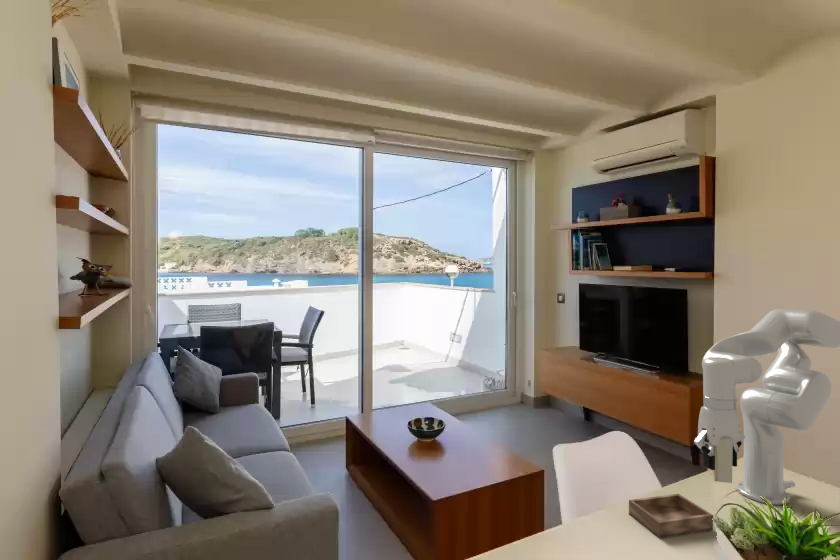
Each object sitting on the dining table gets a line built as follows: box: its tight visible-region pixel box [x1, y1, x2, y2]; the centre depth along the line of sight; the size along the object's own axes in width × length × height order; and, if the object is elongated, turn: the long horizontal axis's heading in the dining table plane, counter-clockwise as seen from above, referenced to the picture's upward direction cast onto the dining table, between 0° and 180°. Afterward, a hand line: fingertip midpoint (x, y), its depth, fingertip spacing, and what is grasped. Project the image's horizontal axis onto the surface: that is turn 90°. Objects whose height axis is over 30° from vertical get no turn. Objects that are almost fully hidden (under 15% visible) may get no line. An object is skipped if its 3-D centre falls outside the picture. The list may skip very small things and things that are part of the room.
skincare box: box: [707, 438, 733, 484], centre depth 127 cm, size 6×4×12 cm
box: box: [628, 493, 714, 539], centre depth 121 cm, size 16×12×4 cm
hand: (720, 465), depth 127 cm, fingers closed on skincare box, 6 cm apart
